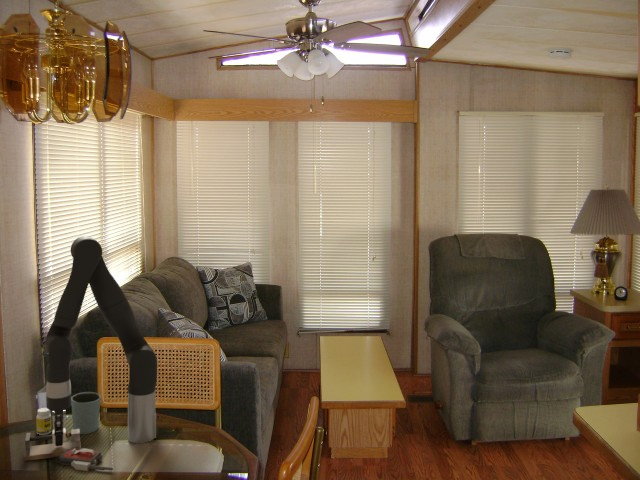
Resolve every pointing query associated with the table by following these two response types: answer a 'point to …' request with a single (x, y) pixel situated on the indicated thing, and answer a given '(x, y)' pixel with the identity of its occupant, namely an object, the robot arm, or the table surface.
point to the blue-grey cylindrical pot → (85, 411)
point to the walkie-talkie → (82, 459)
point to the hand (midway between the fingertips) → (59, 442)
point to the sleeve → (63, 436)
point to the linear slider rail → (50, 446)
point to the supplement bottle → (43, 421)
